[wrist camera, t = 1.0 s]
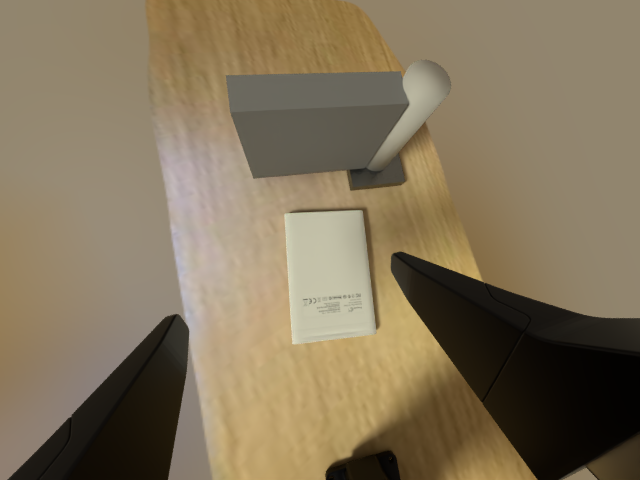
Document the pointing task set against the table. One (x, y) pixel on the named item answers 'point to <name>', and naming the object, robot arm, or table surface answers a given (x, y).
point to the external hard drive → (328, 276)
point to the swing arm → (331, 117)
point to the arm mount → (377, 176)
